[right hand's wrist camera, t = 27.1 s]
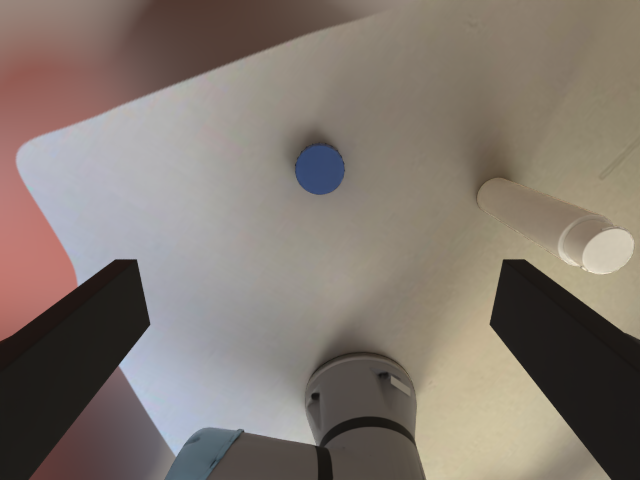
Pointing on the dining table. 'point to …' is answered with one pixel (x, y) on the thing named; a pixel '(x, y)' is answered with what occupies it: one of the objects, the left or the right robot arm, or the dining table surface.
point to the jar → (558, 226)
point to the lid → (319, 168)
